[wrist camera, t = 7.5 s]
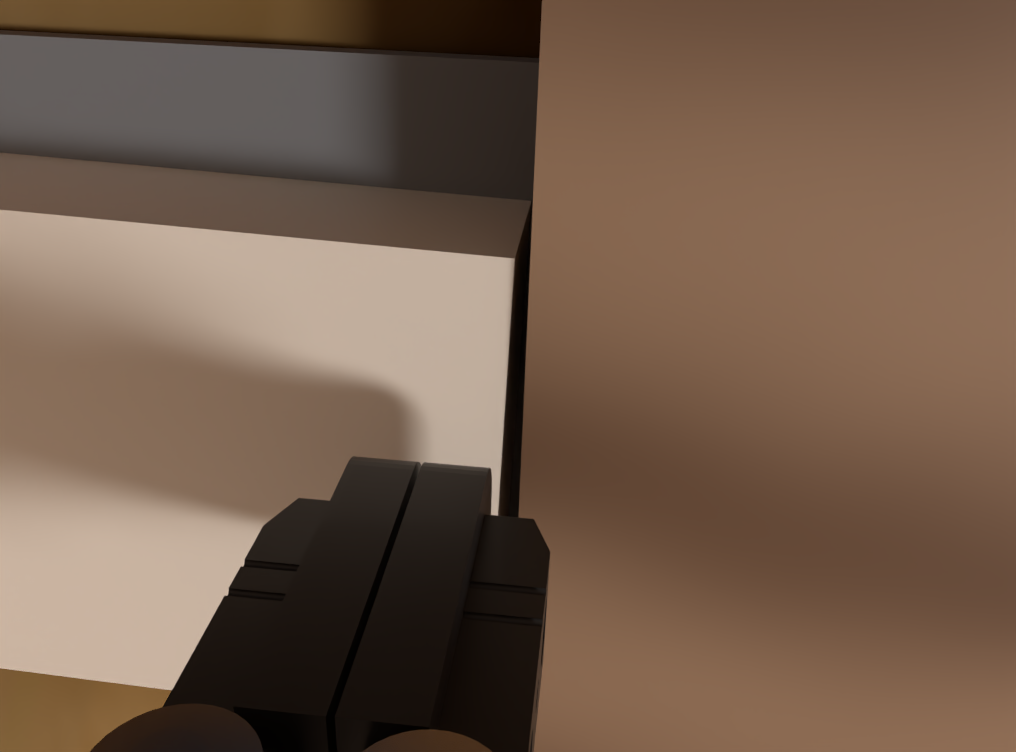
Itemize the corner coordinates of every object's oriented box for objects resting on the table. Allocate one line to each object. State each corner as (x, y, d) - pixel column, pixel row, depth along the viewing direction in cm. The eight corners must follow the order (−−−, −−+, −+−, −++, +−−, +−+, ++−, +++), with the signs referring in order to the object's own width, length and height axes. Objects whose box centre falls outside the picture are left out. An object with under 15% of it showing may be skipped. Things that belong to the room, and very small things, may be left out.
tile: (-87, 144, 12) (-205, 190, 11) (531, 201, 12) (514, 258, 10) (13, 571, 16) (-64, 659, 14) (499, 630, 15) (483, 730, 13)
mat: (-347, 12, 12) (-368, 15, 12) (554, 58, 11) (552, 63, 11) (-144, 569, 16) (-157, 580, 16) (524, 636, 16) (522, 649, 15)
